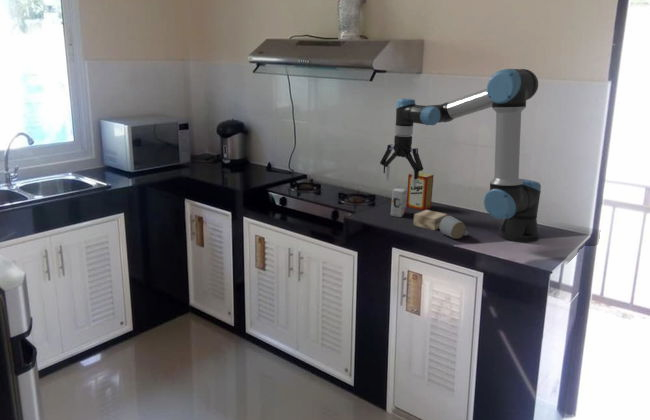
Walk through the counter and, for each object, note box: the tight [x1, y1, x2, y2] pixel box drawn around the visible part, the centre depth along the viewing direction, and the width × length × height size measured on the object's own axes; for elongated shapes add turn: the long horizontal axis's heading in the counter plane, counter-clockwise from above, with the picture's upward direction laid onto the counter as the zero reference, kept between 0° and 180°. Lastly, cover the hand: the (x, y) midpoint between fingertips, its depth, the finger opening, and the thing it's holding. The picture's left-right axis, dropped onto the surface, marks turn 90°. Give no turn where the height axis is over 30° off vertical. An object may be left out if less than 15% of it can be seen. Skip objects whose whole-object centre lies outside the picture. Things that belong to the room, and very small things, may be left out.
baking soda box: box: [406, 171, 435, 211], centre depth 257 cm, size 10×6×16 cm
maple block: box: [412, 209, 448, 231], centre depth 232 cm, size 10×10×5 cm
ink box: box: [390, 186, 408, 218], centre depth 245 cm, size 9×5×12 cm, turn 155°
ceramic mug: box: [439, 215, 469, 240], centre depth 218 cm, size 11×8×8 cm
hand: (399, 183), depth 243 cm, fingers open, 13 cm apart
